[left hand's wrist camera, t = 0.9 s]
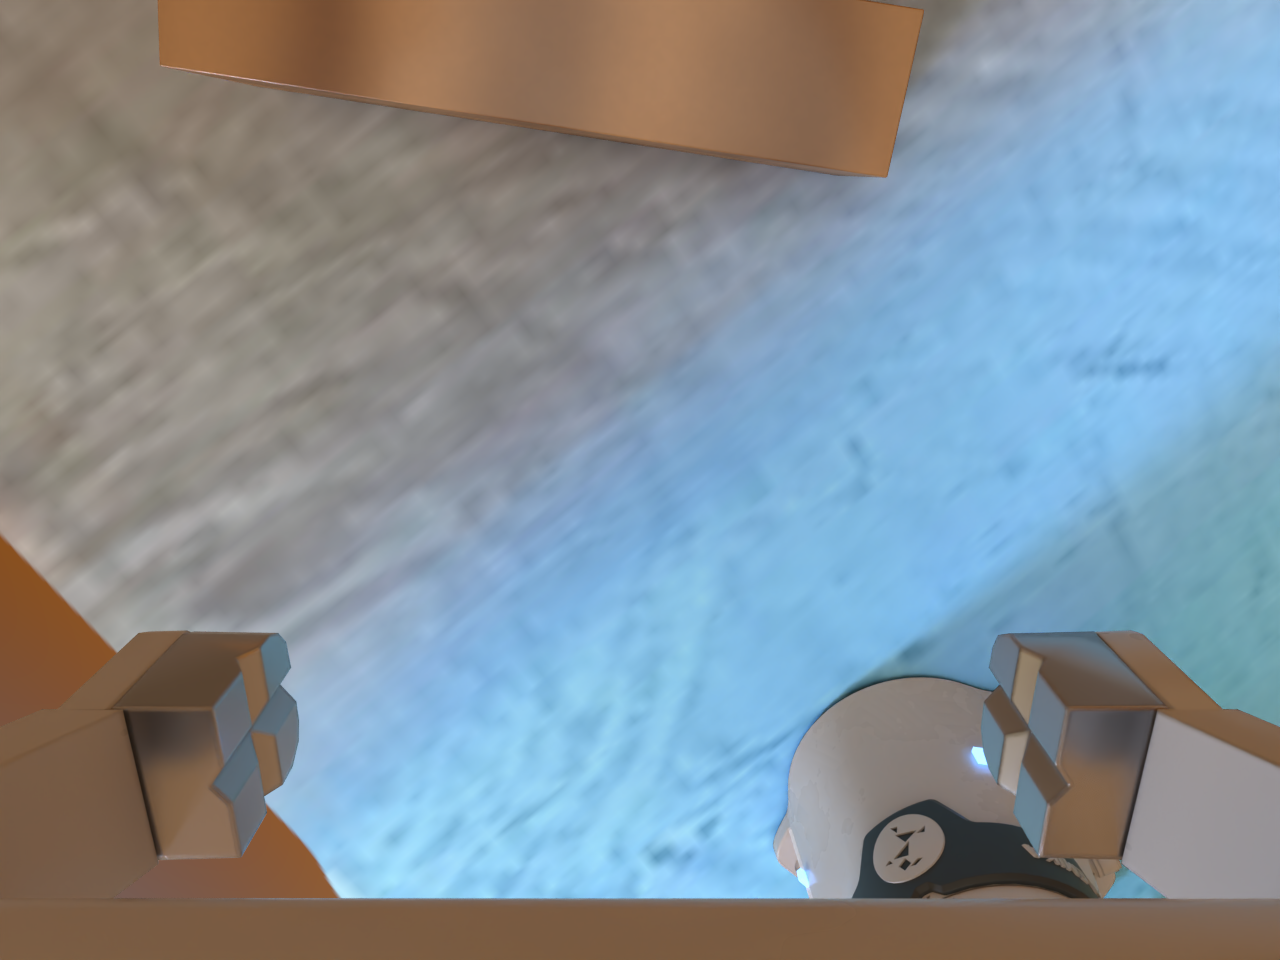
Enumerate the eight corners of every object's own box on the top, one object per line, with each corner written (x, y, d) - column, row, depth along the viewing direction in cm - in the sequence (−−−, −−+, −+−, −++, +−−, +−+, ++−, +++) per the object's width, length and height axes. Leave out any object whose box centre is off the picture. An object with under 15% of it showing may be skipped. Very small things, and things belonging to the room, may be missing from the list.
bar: (867, 41, 40) (924, 9, 32) (840, 175, 42) (887, 177, 34) (256, -56, 39) (153, -116, 31) (256, 86, 41) (158, 65, 33)
